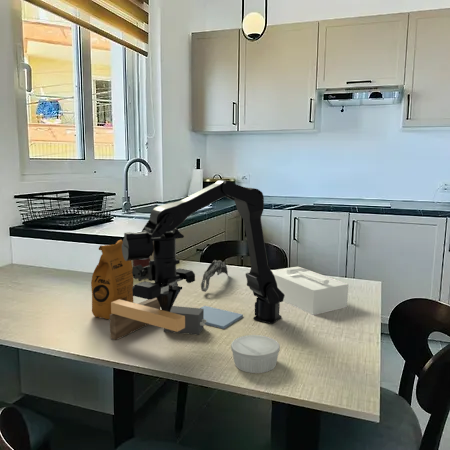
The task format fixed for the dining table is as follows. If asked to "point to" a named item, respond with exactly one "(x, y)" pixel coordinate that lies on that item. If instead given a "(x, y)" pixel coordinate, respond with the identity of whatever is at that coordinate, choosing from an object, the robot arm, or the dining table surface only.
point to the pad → (220, 317)
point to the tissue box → (311, 290)
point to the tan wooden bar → (148, 315)
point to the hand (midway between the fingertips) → (166, 314)
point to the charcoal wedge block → (190, 319)
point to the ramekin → (255, 353)
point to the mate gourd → (141, 262)
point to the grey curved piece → (213, 272)
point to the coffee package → (111, 280)
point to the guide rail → (128, 321)
